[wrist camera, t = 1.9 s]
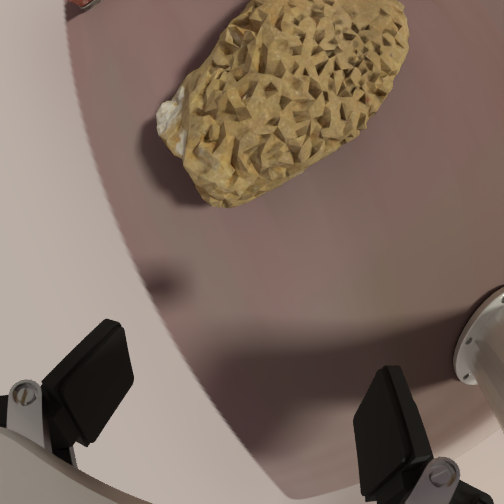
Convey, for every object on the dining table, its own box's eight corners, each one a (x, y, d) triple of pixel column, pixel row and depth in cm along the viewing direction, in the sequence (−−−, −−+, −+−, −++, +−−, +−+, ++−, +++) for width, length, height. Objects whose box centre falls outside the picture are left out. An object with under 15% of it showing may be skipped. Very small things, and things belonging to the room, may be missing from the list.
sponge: (257, 214, 22) (464, 82, 12) (198, 233, 15) (498, 39, 5) (182, 98, 22) (350, -27, 12) (116, 83, 15) (328, -85, 5)
